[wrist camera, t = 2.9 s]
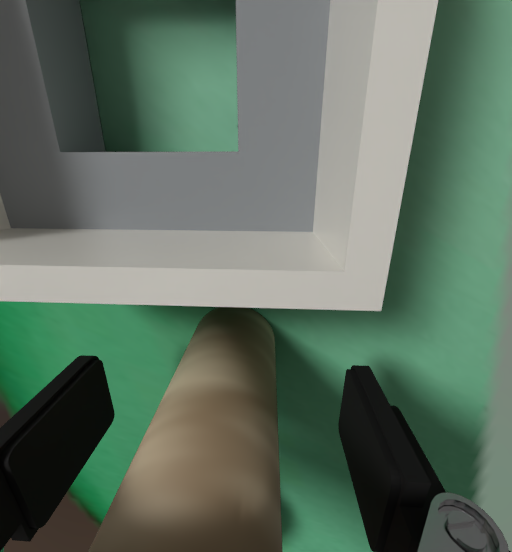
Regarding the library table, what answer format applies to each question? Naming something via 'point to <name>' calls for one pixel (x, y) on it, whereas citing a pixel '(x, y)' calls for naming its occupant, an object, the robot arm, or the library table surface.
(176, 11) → the library table surface
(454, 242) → the library table surface
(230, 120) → the library table surface
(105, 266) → the bore box
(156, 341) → the library table surface
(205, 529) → the peg
